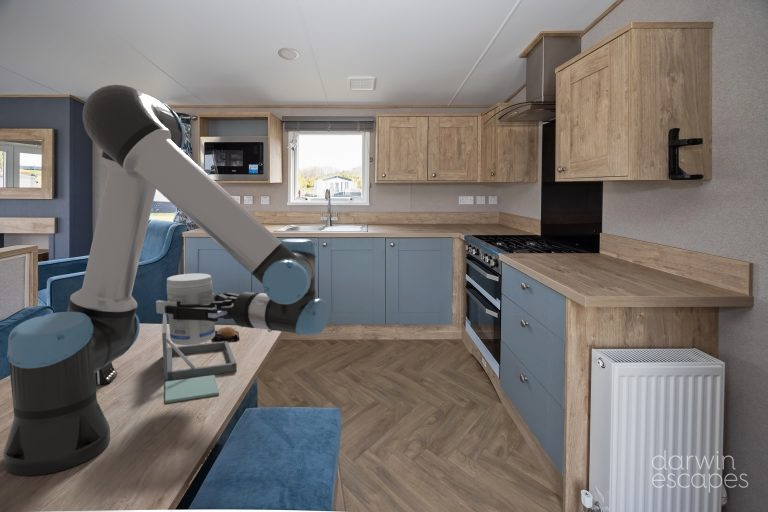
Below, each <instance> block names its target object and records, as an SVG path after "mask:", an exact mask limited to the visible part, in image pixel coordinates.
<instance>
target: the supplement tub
mask: <svg viewBox="0 0 768 512" xmlns="http://www.w3.org/2000/svg"><path fill="white" fill-rule="evenodd" d="M213 294H214V287H213V281H212V275H211V274H208V273H197V272H196V273H183V274H182V273H181V274H176V275H171V276H169V277H167V278H166V299H167V300H166V301H169V302H178V301H181V303H182V305H183V304H211V303H212V302H213ZM168 323H169V325H168V326H169V336H170V338H169V339H170V340H171V341H172V343H173V344H174V345H179V346H187V345H196V344H204V343H207V342H209V341H211V340H212V338H213V337H214V336H215V331H216V324H215V323H216V322H213V321H206V320H175V319H173V315H168Z"/></svg>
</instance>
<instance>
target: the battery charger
mask: <svg viewBox="0 0 768 512" xmlns="http://www.w3.org/2000/svg"><path fill="white" fill-rule="evenodd" d="M117 376H118V372H117V370H116V369H115V368H114V366H113V361H112V362H111V363H109V364H108V365H106V366H105V367H103V368H102V369H100V370H99V371H97V372H96V373H95V381H96V385H97V386H98V385H99V386H100V385H105V384H110V383H112V381H114V379H115V378H116V377H117Z"/></svg>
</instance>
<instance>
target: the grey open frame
mask: <svg viewBox="0 0 768 512" xmlns="http://www.w3.org/2000/svg"><path fill="white" fill-rule="evenodd" d="M167 319H168V318H167V314H162V329H161V330H162V331H161V337H162V339H161V341H162V358H163V362H162V363H163V381H164V382H167V381H174V380H182V379H189V378H196V377H203V376H211V375H219V374H220V375H221V374H224V373H225V374H226V373H234V372H237V361H236V360H235V357H234V354H233V351H232V349H231V346H230V344H229V343H228V341H224V342H208V343H207V342H204V343H200V344H195V345H179V346H177V345H176V344H175V343H173V342H172V341H171V339H170V338H169V337H168V321H167ZM168 345H169V346H170V347H169V346H168ZM219 350H224V352H225V355H226V358H227V360H228V362H229V363H222V364H221V363H220V364H214V365H207V366H199V367H196V366H194V364H193V363H192V362H191V361H190V360H189V359H188V358H187V356H186V355H185V354H193V353H203V352H209V351H210V352H211V351H219ZM173 356H179V357H180V358H181V359H182V360H183V361H184V362H185V363H186V364H187V366H189V368H185V369H184V368H183V369H176V370H173Z"/></svg>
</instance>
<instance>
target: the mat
mask: <svg viewBox="0 0 768 512" xmlns="http://www.w3.org/2000/svg"><path fill="white" fill-rule="evenodd" d="M164 382H165V385H164V386H165V387H164V388H165V391H164V394H165V395H164V404H170V403H175V402H181V401H188V400H194V399H200V398H207V397H215V396H219V395H220V392H219V387H218V383H217V380H216V374H213V375H206V376H198V377H191V378H184V379H177V380H169V381H164Z"/></svg>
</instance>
